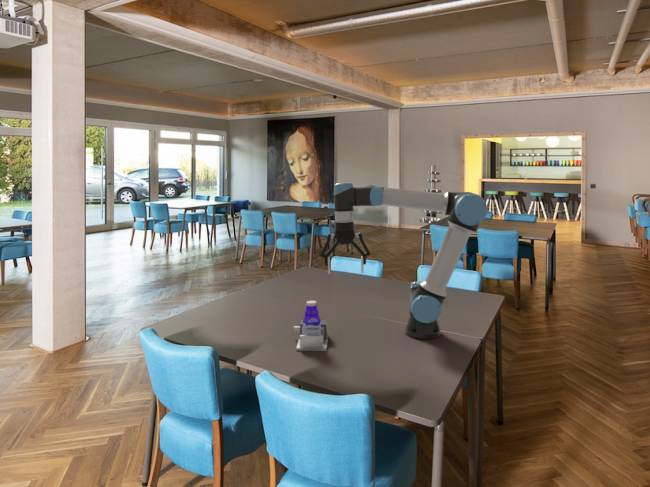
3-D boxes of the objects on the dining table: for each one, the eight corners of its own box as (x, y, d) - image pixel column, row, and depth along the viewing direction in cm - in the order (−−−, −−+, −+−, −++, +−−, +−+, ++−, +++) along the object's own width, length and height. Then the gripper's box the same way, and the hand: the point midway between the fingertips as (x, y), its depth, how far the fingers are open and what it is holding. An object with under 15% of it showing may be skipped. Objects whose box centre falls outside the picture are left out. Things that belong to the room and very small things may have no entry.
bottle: (304, 346, 193) (304, 304, 190) (301, 341, 198) (301, 300, 196) (322, 344, 195) (322, 303, 192) (318, 340, 200) (318, 299, 198)
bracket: (327, 341, 202) (327, 327, 201) (326, 351, 191) (326, 336, 190) (298, 340, 202) (298, 326, 201) (296, 350, 192) (296, 335, 191)
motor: (328, 335, 208) (328, 320, 207) (327, 340, 202) (327, 324, 201) (294, 335, 209) (294, 319, 208) (293, 340, 203) (292, 324, 202)
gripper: (374, 219, 199) (375, 270, 202) (313, 221, 199) (315, 271, 203) (376, 221, 192) (377, 273, 195) (313, 223, 192) (315, 275, 195)
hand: (345, 272), depth 199 cm, fingers open, 13 cm apart
